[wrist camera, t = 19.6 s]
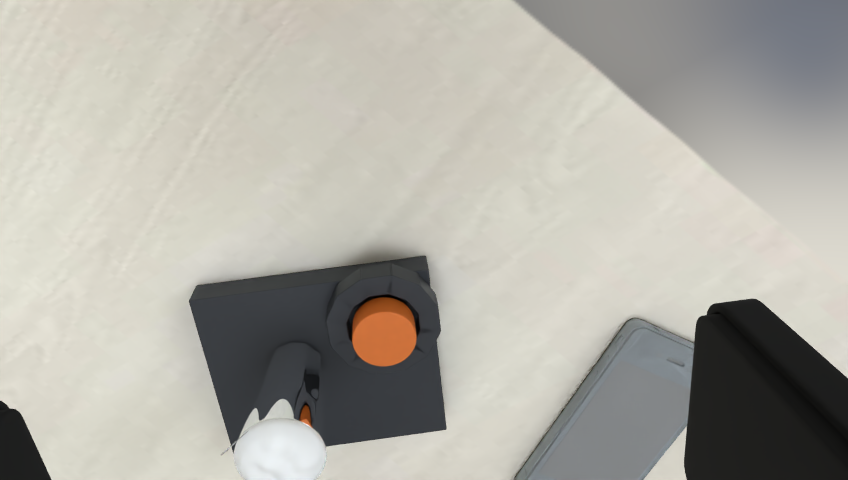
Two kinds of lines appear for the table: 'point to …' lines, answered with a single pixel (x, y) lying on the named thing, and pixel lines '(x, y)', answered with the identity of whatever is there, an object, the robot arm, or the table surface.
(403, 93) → the table surface
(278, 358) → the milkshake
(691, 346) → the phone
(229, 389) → the dark grey flat block
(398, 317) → the button
